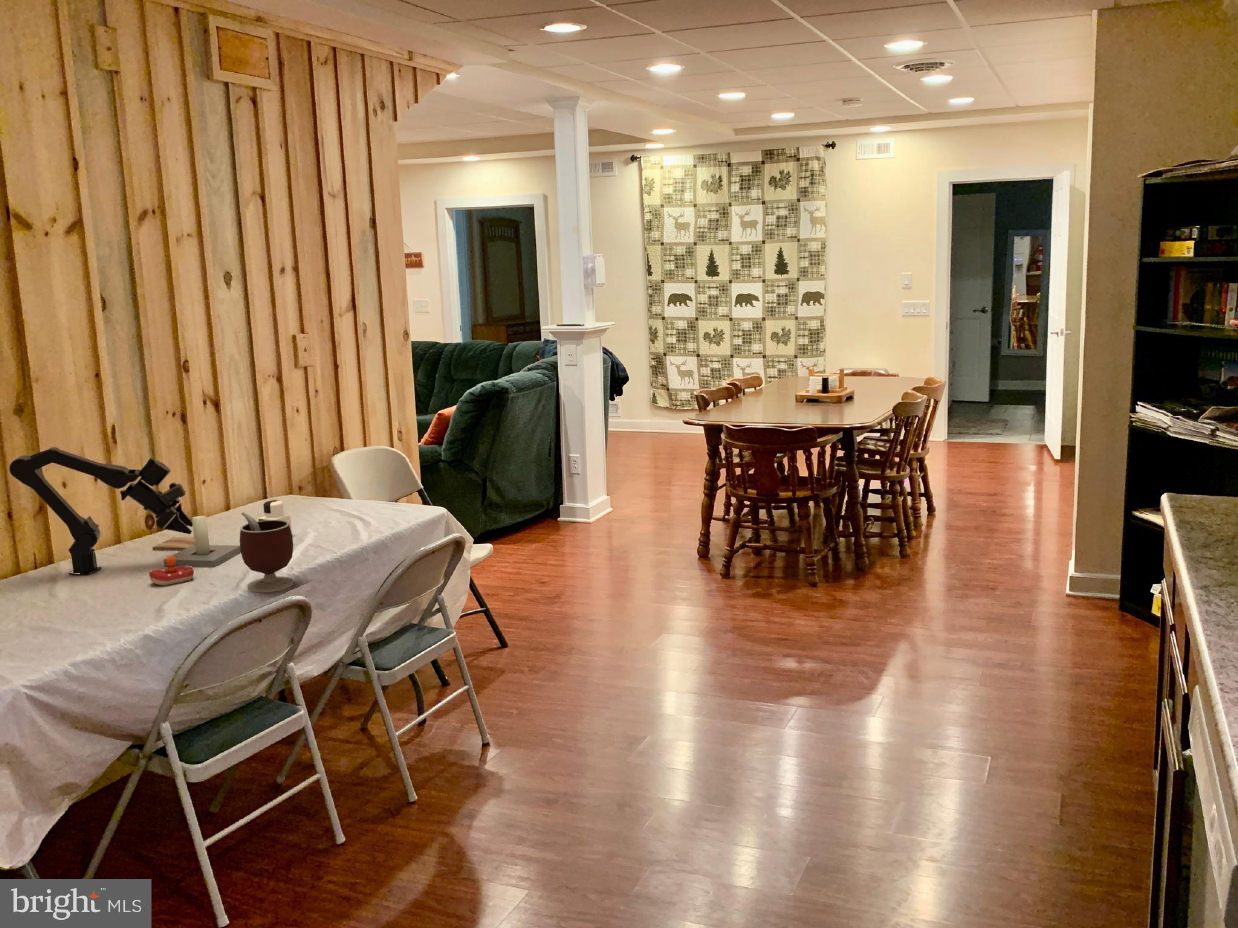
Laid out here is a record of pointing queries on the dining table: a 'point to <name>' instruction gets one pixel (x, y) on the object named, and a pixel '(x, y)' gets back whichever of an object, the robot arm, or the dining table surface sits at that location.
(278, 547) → the mate gourd
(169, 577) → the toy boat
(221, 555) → the cover plate
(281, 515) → the medicine bottle
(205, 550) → the key peg
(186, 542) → the copper sheet
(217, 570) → the dining table surface
